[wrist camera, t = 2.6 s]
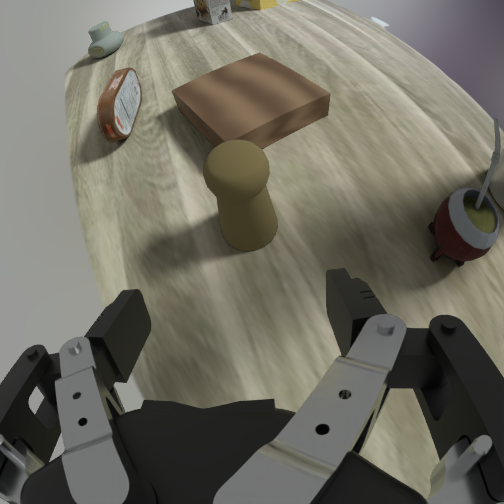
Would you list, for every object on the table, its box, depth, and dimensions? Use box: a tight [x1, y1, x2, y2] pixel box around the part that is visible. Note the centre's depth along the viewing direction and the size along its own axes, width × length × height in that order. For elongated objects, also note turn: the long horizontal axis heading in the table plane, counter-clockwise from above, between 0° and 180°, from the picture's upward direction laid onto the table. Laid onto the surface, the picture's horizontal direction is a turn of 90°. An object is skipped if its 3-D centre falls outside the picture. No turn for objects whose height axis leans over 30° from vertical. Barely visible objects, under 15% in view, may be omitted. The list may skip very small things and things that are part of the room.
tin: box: [97, 68, 142, 142], centre depth 37 cm, size 15×3×8 cm, turn 4°
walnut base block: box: [172, 53, 330, 149], centre depth 36 cm, size 16×16×4 cm
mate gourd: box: [428, 118, 501, 267], centre depth 20 cm, size 8×8×15 cm
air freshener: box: [88, 21, 124, 58], centre depth 53 cm, size 11×8×10 cm
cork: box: [203, 140, 278, 251], centre depth 25 cm, size 6×6×11 cm
